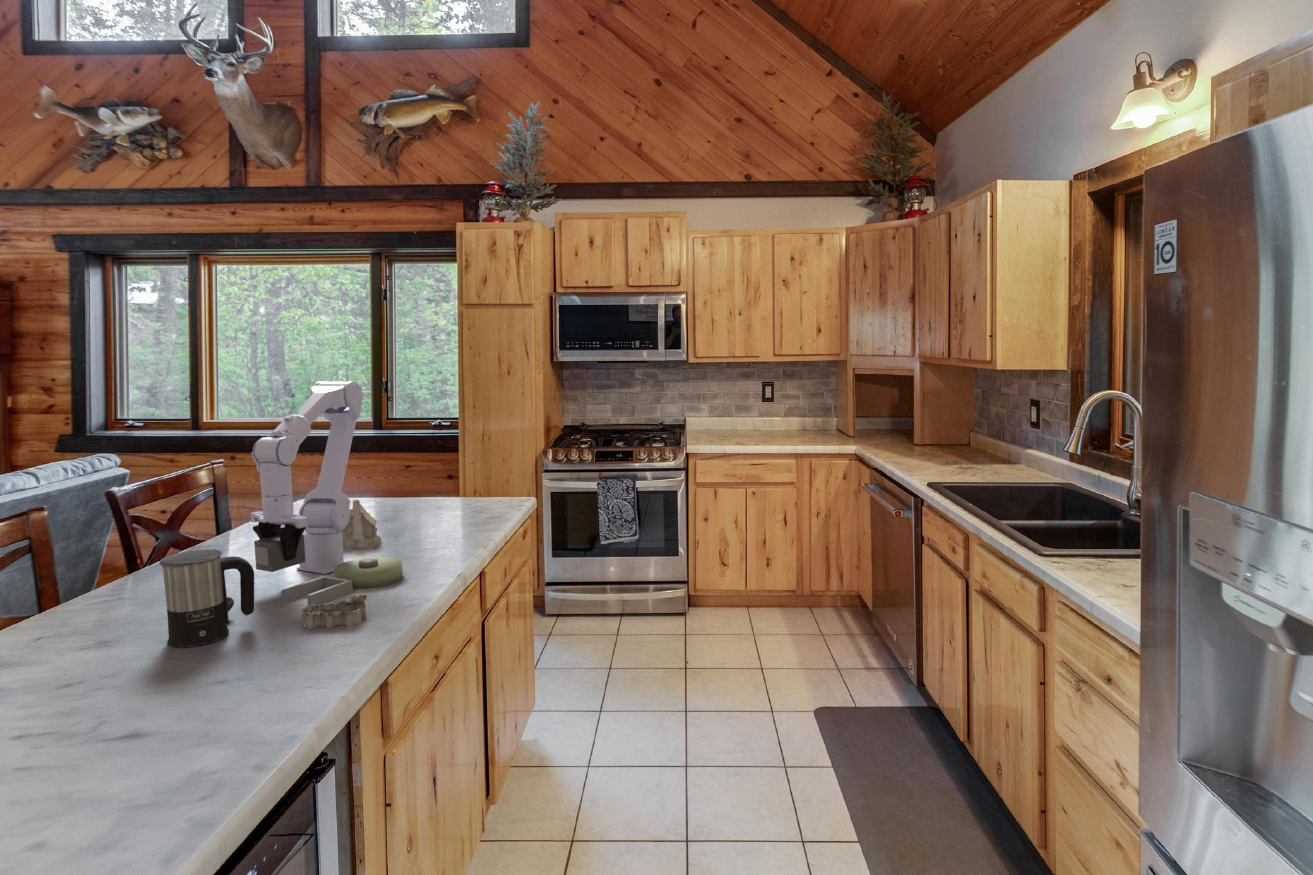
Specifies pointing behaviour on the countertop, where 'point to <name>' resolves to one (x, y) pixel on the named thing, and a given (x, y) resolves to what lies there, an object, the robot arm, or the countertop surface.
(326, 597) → the green disc with bracket
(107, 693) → the countertop surface
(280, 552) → the grey block with ledge
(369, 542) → the ceramic cottage
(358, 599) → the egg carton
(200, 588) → the milk frother
